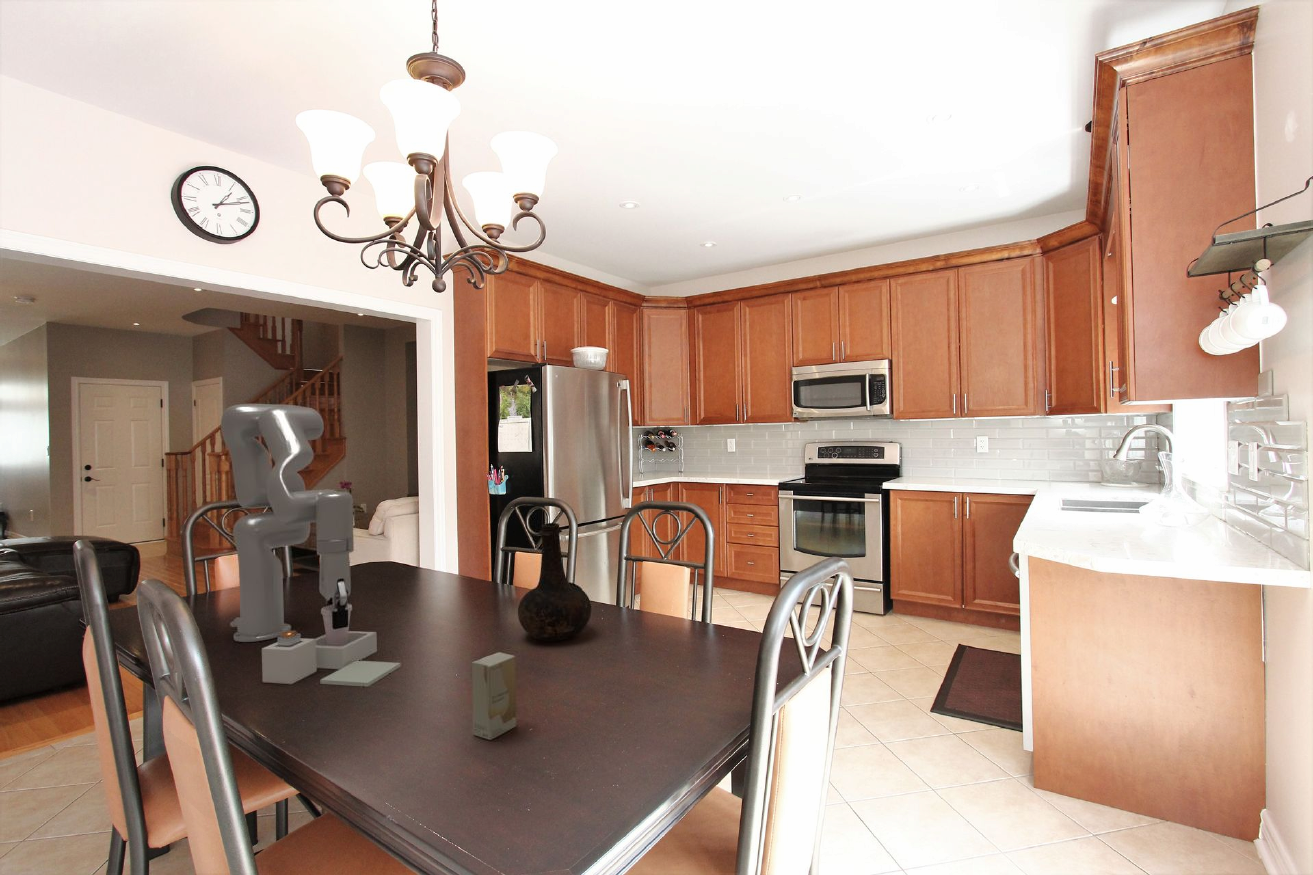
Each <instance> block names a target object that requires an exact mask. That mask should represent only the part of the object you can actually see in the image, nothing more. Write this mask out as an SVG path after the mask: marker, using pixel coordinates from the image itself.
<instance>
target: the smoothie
mask: <svg viewBox="0 0 1313 875" xmlns="http://www.w3.org/2000/svg"><path fill="white" fill-rule="evenodd" d="M336 597H338V595H336ZM337 602H338V600H336V603H337ZM347 604H348V627H345V628H339V629H333V628H332V611H334V609H333V605H328V606H326V605H325V606H323V607H322V608H321V610H320V614H321V615H322V620H323V625H324V631H325V634H326V638H327V644H328V646H338V647H342V646H344V645H346V644H347V639H348V631H350V630H349V629H350V618H351V613H352V612H351V611H353V606H352V604H351V603H347Z"/></svg>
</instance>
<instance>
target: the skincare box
mask: <svg viewBox="0 0 1313 875" xmlns="http://www.w3.org/2000/svg"><path fill="white" fill-rule="evenodd" d="M471 667H472V668H471V669H472V672H471V673H472V677H471V678H472V680H471V681H472V735H474V736H476V737H479V738H483V739H485V740H489V741H491V740H493V739H495V738H497V737H499V736H501V735H502V734H503V735H504V733H506V732H508V731H510V730H511V729H513V728H515V727H517V686H516V681H517V680H516V679H517V678H516V655H512V654H510V653H509V654H507V653H504V652H500V651H499V652H496V653H493V654H491V655H487V656H484V657H483V658H481V659H478V660H475V661H472V663H471Z"/></svg>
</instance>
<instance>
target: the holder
mask: <svg viewBox="0 0 1313 875" xmlns="http://www.w3.org/2000/svg"><path fill="white" fill-rule="evenodd" d="M315 639H316V666H317V669H329V670H330V669H332V670H340V669H342V668H344V667H345V666H347V665H349V664H351V663H353V662H355V661H359V660H360V661H363V660H364V659H365V658H367V657H369V656H371V655H373V654H375V653H377V652H378V647H377V646H378V643H377V642H378V641H377V640H378V639H377V631H355V630H353V631H352V630H348V639H347V644H346V645H344V646H342V647H338V646H328V644H327V638H326V633H325V634H323V635H321V636H318V637H316V638H315ZM363 658H364V659H363Z"/></svg>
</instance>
